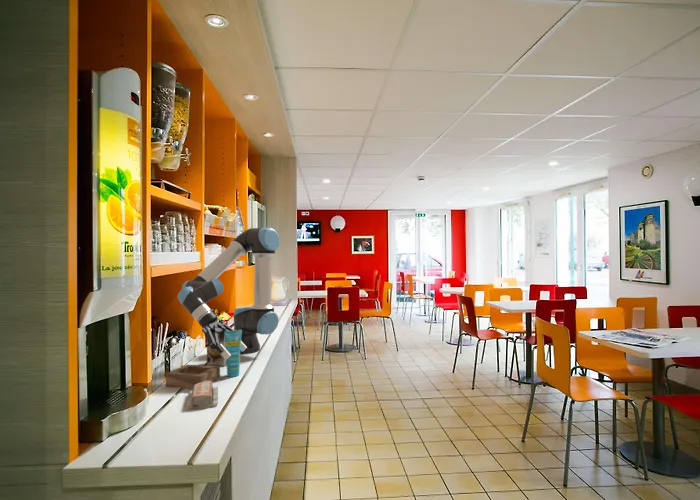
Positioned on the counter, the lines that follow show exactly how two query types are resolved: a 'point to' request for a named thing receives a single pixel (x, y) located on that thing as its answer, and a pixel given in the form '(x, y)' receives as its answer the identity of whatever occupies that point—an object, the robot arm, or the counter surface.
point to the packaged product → (203, 396)
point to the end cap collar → (192, 375)
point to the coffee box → (216, 353)
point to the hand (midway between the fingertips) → (237, 353)
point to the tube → (233, 351)
